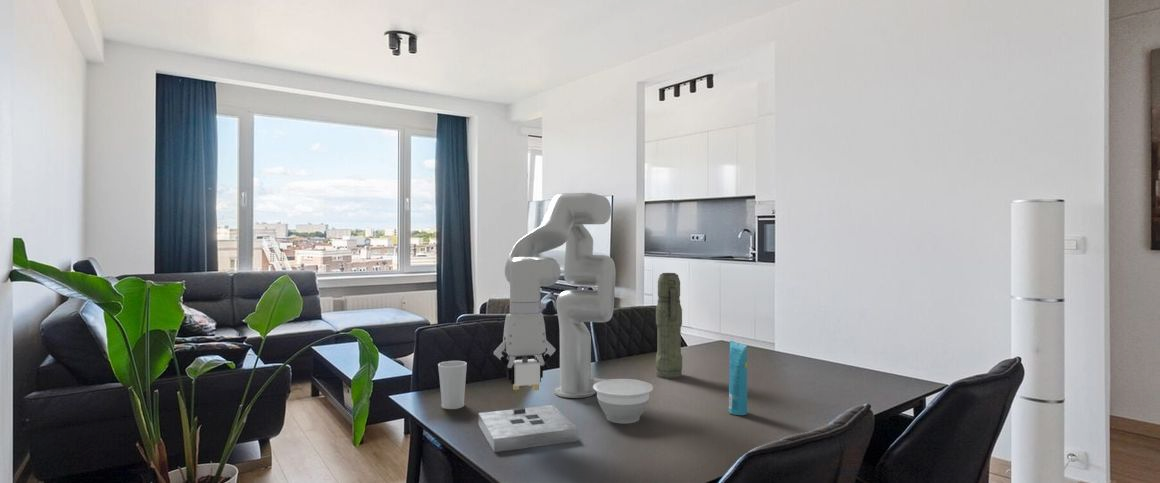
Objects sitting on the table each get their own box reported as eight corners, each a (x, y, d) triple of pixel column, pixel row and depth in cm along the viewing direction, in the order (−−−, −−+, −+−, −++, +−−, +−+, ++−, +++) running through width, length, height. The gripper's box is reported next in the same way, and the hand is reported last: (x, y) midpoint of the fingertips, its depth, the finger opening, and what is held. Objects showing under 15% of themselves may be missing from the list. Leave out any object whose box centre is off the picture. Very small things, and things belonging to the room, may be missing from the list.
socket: (553, 416, 159) (552, 402, 158) (577, 441, 140) (577, 425, 140) (478, 424, 152) (478, 410, 152) (494, 452, 133) (493, 435, 133)
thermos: (663, 380, 195) (663, 274, 194) (650, 372, 206) (650, 272, 206) (688, 379, 197) (688, 274, 196) (674, 370, 209) (673, 271, 208)
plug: (533, 384, 149) (533, 354, 149) (539, 390, 143) (540, 358, 143) (510, 386, 147) (510, 355, 147) (515, 392, 141) (515, 360, 141)
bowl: (583, 413, 161) (583, 382, 161) (635, 406, 167) (635, 376, 167) (609, 431, 146) (609, 397, 146) (664, 423, 153) (664, 390, 152)
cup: (460, 410, 164) (460, 367, 163) (433, 409, 165) (433, 366, 165) (471, 402, 171) (471, 361, 171) (445, 401, 173) (445, 360, 173)
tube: (754, 415, 158) (754, 344, 158) (740, 418, 156) (740, 345, 156) (735, 408, 165) (735, 339, 164) (721, 410, 163) (721, 341, 162)
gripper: (554, 305, 151) (554, 376, 151) (487, 308, 146) (487, 381, 146) (563, 309, 144) (563, 382, 144) (493, 311, 139) (493, 388, 139)
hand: (524, 381), depth 145 cm, fingers closed on plug, 6 cm apart
